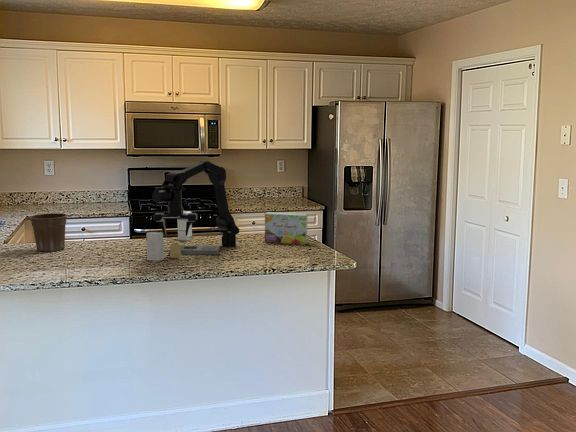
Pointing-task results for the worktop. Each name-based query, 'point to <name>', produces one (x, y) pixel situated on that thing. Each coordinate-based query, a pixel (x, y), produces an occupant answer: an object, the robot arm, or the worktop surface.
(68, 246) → the worktop surface
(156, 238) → the skincare box
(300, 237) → the snack box
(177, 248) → the stepped wooden chunk
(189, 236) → the syrup box
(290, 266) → the worktop surface
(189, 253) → the grey slotted board
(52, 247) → the plant pot
